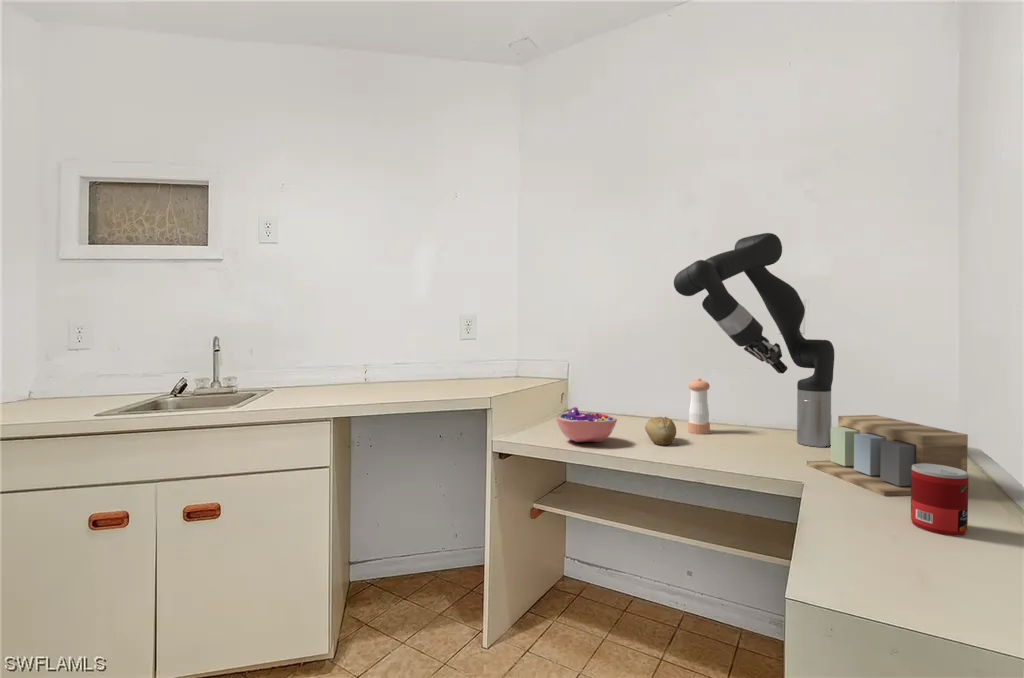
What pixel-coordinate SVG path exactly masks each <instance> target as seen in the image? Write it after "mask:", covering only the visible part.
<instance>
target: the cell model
mask: <svg viewBox="0 0 1024 678" xmlns="http://www.w3.org/2000/svg"><path fill="white" fill-rule="evenodd" d="M555 419H556V422H557V426H558V428H559V430H560V431H561V433H562V435H564V437H565V438H567V439H569V440H570V441H572V442H575V443H600V442H603V441H604V440H605V439H607V438H608V437H610V435H611V434H612V432H613V431H614V429H615V427H616V424H617V421H618V418H616V417H614V416H610V415H607V414H604V413H600V412H580V411H579V408H578V407H577V406H574V407H571V408H570V409H569V410H568V412H567V413H560V414H558V415H556V416H555Z"/></svg>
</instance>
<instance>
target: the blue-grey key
mask: <svg viewBox="0 0 1024 678" xmlns="http://www.w3.org/2000/svg"><path fill="white" fill-rule="evenodd" d="M881 441H886V437H884V436H880V435H876V434H854V470H856V471H859V472H862V473H865V474H867V475H880V468H881Z"/></svg>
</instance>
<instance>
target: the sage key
mask: <svg viewBox="0 0 1024 678" xmlns="http://www.w3.org/2000/svg"><path fill="white" fill-rule="evenodd" d="M854 434H860V430H857V429H853V428H849V427H838V426H837V427H836V426H835V427H831V446H830V461H832V462H834V463H837V464H840V465H843V466H854Z"/></svg>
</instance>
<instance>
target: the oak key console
mask: <svg viewBox="0 0 1024 678" xmlns="http://www.w3.org/2000/svg"><path fill="white" fill-rule="evenodd" d="M837 420H838V421H837V422H838V423H837V427H849V428H853V429H857V430H860V434H876V435H880V436H884V437H886V441H903V442H907V443H911V444H915V445H916V464H920V463H924V464H937V465H944V466H949V467H954V468H958V469H961V470H964V471H966V472H967V473H968V451H969V450H968V449H969V447H968V445H969V442H968V441H969V434H967V433H962V432H957V431H953V430H949V429H944V428H938V427H933V426H930V425H929V426H928V425H924V424H920V423H915V422H910V421H907V420H906V421H905V420H900V419H896V418H891V417H886V416H882V415H876V414H869V415H868V414H867V415H864V414H863V415H838V419H837ZM806 465H807V466H809V467H811V468H814V469H816V470H819V471H821V472H824V473H826V474H829V475H832V476H833V477H837V478H839V479H841V480H844V481H846V482H847V483H848V482H849V483H852V484H854V485H856V486H859V487H861V488H863V489H866V490H868V489H869V491H870V492H874V493H876V494H879V495H881V496H883V495H884V496H883V497H889V496H890V497H894V496H895V497H896V496H911V486H897V485H895V484H892V483H889V482H886V481H884V480H881V479H880V475H867V474H865V473H862V472H859V471H856V470H854V466H843V465H840V464H837V463H834V462H832V461H830V460H806Z"/></svg>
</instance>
